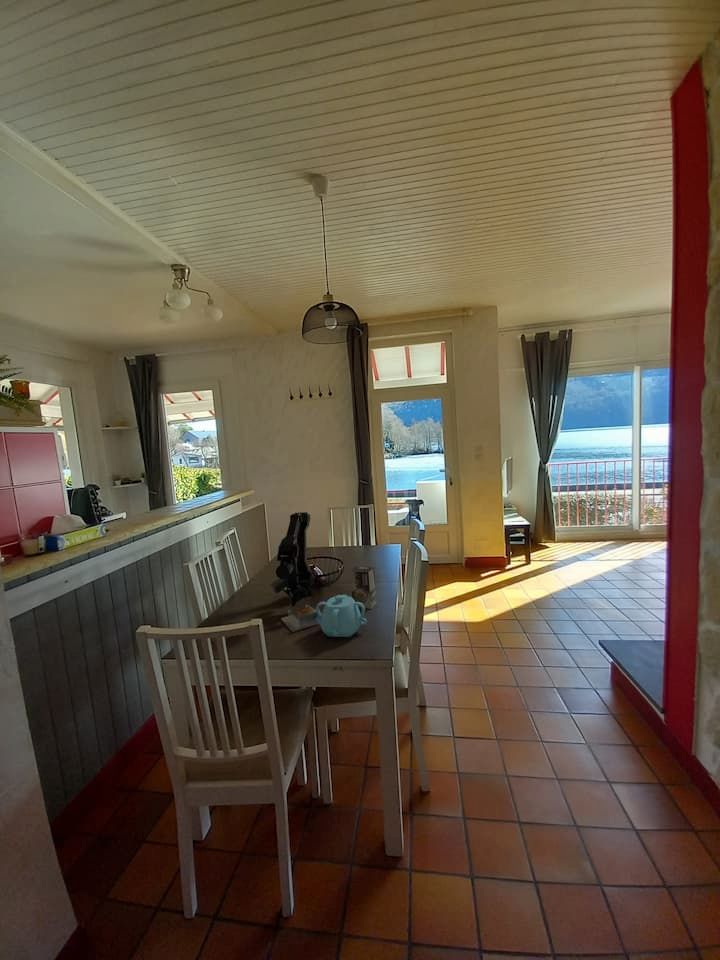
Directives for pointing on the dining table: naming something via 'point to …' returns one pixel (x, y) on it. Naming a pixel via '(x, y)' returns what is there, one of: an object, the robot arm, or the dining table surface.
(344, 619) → the decorative pot
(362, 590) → the coffee box
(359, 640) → the dining table surface
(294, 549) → the robot arm
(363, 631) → the dining table surface
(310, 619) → the channel
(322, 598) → the dining table surface
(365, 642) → the dining table surface
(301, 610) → the lock block
